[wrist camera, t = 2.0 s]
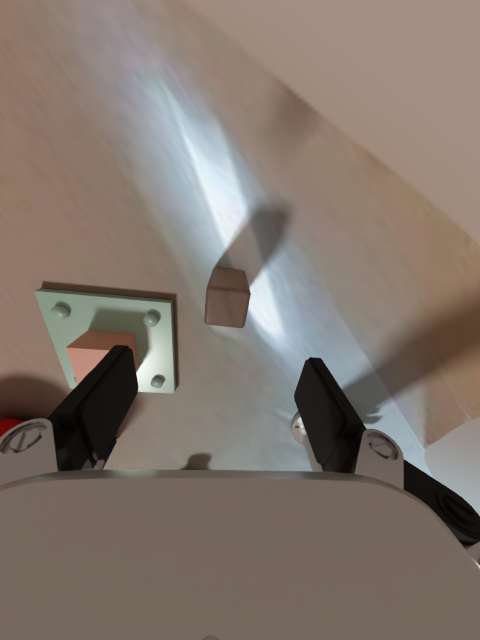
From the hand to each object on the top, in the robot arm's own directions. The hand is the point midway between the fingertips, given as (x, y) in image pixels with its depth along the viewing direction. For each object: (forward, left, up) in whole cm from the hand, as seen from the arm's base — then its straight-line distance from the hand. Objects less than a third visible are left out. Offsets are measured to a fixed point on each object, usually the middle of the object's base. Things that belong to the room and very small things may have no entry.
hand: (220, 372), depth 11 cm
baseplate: (+15, +11, -16) cm, 25 cm away
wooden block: (0, 0, -17) cm, 17 cm away
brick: (+15, +11, -15) cm, 24 cm away
